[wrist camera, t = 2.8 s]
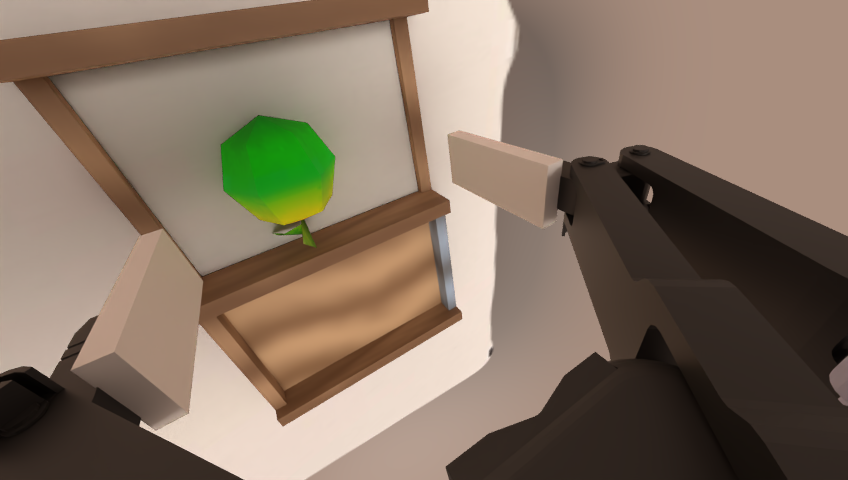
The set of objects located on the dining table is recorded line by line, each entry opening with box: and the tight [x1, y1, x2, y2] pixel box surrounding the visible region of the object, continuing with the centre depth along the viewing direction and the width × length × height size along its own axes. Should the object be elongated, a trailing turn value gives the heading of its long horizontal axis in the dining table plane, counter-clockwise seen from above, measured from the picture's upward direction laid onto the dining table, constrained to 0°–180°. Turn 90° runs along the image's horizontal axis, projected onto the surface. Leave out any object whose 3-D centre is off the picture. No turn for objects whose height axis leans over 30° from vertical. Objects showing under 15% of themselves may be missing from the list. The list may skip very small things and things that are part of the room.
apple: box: [221, 115, 335, 248], centre depth 19 cm, size 7×6×9 cm
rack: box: [0, 0, 462, 426], centre depth 24 cm, size 29×20×4 cm
